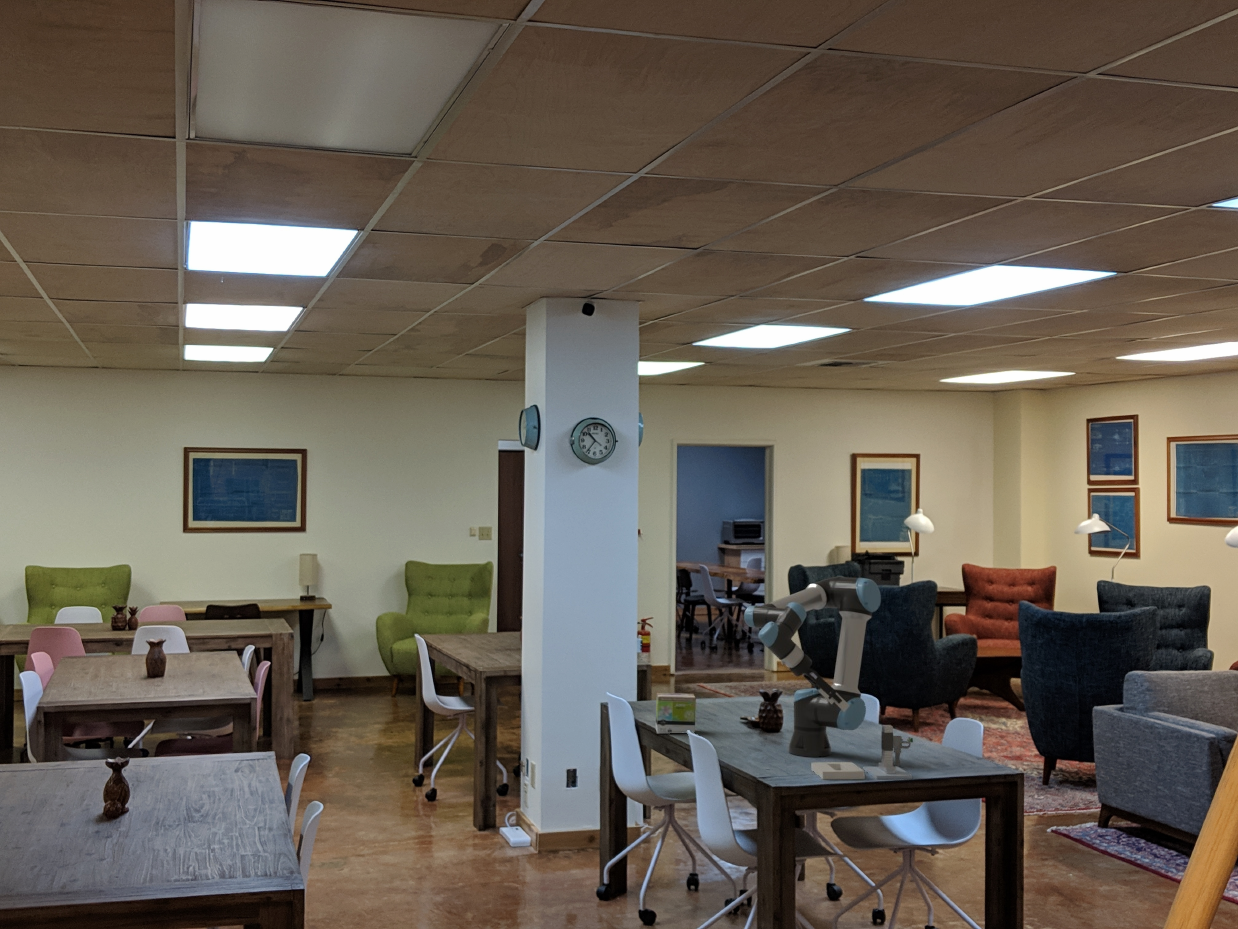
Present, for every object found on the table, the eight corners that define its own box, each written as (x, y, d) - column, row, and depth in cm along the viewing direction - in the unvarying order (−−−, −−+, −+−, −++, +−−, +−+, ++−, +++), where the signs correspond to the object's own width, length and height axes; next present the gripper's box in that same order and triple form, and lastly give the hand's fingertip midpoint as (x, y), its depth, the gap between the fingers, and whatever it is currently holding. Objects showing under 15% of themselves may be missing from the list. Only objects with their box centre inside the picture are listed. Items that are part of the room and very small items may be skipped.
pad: (863, 769, 393) (863, 766, 393) (897, 769, 394) (897, 766, 394) (876, 779, 379) (876, 776, 379) (912, 778, 380) (912, 775, 380)
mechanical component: (912, 767, 397) (912, 738, 398) (882, 765, 400) (882, 736, 400) (912, 765, 400) (912, 736, 401) (882, 764, 402) (882, 735, 403)
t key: (878, 768, 390) (878, 723, 391) (887, 768, 390) (888, 723, 391) (886, 773, 382) (886, 728, 383) (895, 773, 382) (896, 728, 383)
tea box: (657, 734, 451) (657, 696, 452) (655, 729, 461) (655, 692, 462) (695, 734, 451) (695, 696, 452) (693, 730, 461) (693, 692, 462)
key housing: (811, 770, 391) (811, 762, 391) (851, 769, 392) (851, 762, 392) (822, 779, 377) (822, 771, 377) (864, 779, 378) (864, 771, 378)
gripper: (779, 663, 399) (821, 706, 400) (798, 674, 374) (844, 720, 376) (794, 647, 400) (836, 690, 401) (814, 658, 375) (860, 703, 376)
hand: (840, 705), depth 388 cm, fingers open, 13 cm apart
